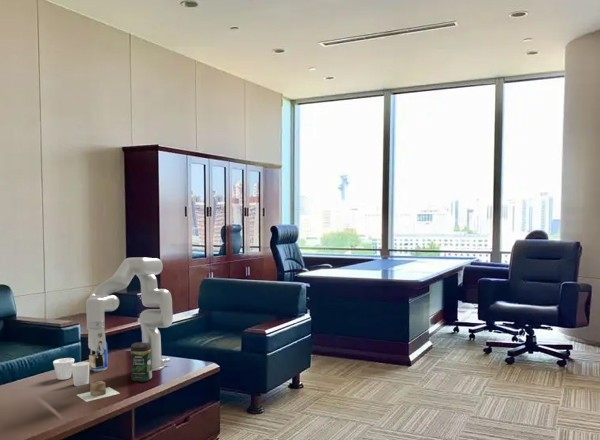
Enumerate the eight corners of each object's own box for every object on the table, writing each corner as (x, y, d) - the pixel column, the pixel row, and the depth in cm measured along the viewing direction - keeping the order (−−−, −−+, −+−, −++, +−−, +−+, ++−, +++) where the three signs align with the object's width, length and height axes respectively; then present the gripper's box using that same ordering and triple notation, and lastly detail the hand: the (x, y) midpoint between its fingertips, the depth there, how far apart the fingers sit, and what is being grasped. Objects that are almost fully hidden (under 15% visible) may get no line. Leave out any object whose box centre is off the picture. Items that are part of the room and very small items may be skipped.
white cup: (69, 385, 254) (68, 365, 254) (82, 381, 261) (81, 361, 261) (80, 387, 250) (79, 366, 251) (93, 382, 257) (92, 362, 257)
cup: (78, 375, 271) (78, 357, 271) (68, 381, 261) (67, 363, 261) (60, 375, 272) (59, 358, 272) (49, 381, 262) (48, 363, 262)
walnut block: (101, 391, 239) (101, 380, 239) (105, 394, 235) (105, 382, 235) (90, 394, 236) (90, 383, 236) (94, 396, 232) (94, 385, 232)
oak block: (100, 363, 239) (100, 352, 239) (104, 365, 235) (104, 354, 235) (89, 366, 236) (89, 355, 236) (93, 368, 232) (92, 356, 232)
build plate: (109, 389, 245) (109, 387, 245) (120, 396, 235) (120, 393, 235) (76, 397, 235) (76, 394, 235) (86, 404, 226) (86, 401, 226)
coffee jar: (128, 382, 256) (127, 344, 256) (136, 377, 264) (135, 340, 264) (147, 382, 254) (145, 344, 255) (154, 377, 262) (153, 340, 262)
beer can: (90, 368, 283) (89, 339, 284) (107, 366, 287) (106, 337, 287) (91, 372, 276) (90, 342, 276) (108, 370, 279) (107, 340, 279)
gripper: (111, 326, 232) (112, 367, 231) (97, 321, 245) (98, 360, 244) (94, 328, 227) (95, 370, 226) (81, 324, 240) (82, 363, 239)
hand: (97, 364), depth 235 cm, fingers closed on oak block, 5 cm apart
